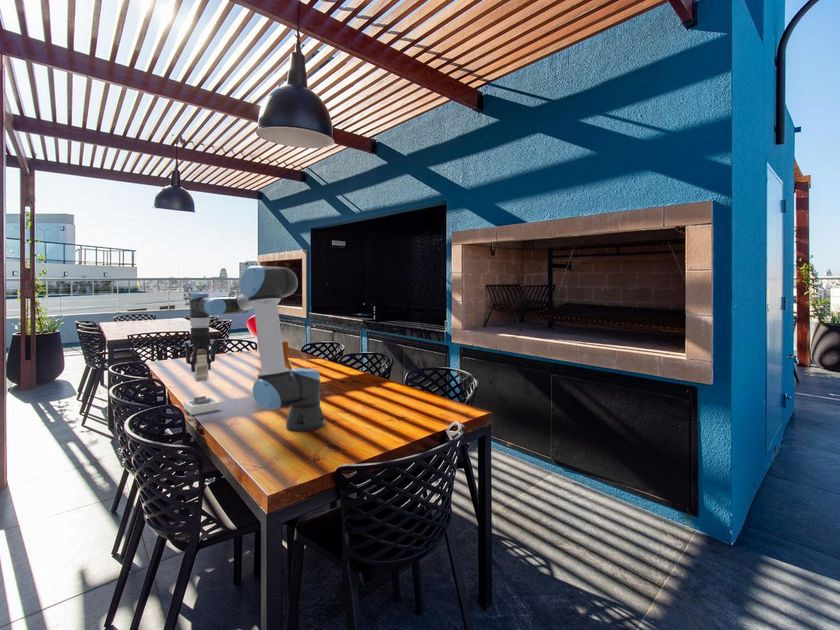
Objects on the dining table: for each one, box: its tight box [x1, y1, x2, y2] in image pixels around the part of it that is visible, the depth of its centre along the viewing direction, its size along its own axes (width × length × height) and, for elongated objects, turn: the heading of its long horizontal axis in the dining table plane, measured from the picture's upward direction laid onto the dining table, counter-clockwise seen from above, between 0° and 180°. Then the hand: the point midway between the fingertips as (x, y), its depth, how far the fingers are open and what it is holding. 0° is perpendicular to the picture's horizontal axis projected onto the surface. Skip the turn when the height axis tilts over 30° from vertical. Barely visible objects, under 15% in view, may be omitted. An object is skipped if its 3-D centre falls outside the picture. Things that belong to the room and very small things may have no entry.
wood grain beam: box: [194, 348, 208, 383], centre depth 193 cm, size 4×4×14 cm
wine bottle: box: [282, 341, 293, 370], centre depth 205 cm, size 10×10×30 cm
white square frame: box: [183, 395, 221, 416], centre depth 194 cm, size 12×12×5 cm
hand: (201, 378), depth 193 cm, fingers closed on wood grain beam, 4 cm apart
